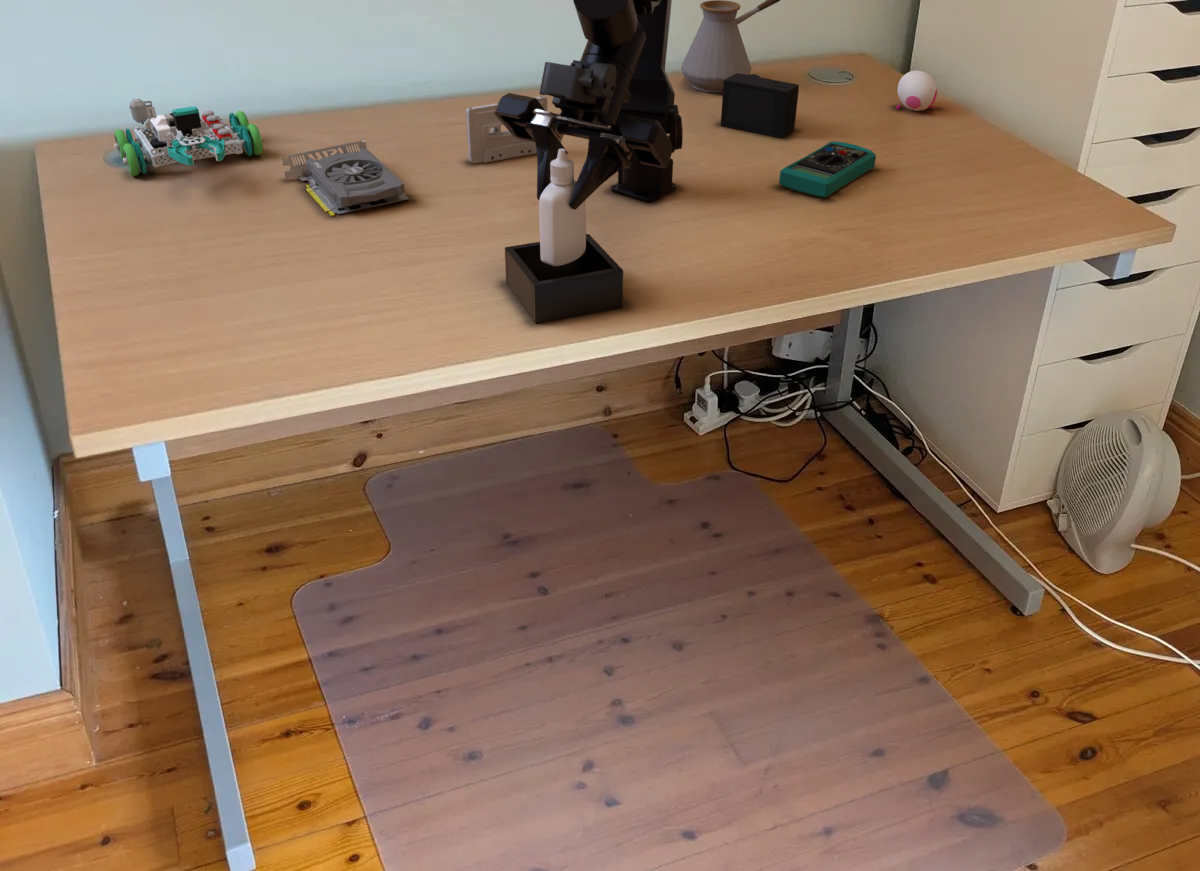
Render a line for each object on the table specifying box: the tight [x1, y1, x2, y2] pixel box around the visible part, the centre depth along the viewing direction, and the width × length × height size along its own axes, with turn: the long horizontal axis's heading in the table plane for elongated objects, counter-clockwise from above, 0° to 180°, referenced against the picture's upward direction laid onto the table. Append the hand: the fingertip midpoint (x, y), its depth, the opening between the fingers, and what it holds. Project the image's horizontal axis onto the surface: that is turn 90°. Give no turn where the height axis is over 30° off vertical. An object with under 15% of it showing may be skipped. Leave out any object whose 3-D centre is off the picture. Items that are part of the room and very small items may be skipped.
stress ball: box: [896, 70, 938, 112], centre depth 178 cm, size 8×8×7 cm
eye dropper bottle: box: [538, 148, 587, 266], centre depth 119 cm, size 4×6×12 cm
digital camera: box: [720, 73, 800, 139], centre depth 169 cm, size 10×5×7 cm, turn 58°
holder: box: [504, 233, 624, 325], centre depth 124 cm, size 10×10×4 cm
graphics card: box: [281, 139, 410, 217], centre depth 148 cm, size 17×4×12 cm
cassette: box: [465, 95, 548, 165], centre depth 158 cm, size 12×2×8 cm, turn 118°
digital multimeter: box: [778, 140, 877, 199], centre depth 154 cm, size 7×15×3 cm, turn 142°
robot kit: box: [113, 98, 264, 177], centre depth 153 cm, size 19×25×9 cm
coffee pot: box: [680, 0, 781, 94], centre depth 185 cm, size 21×12×15 cm, turn 115°
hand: (555, 204), depth 118 cm, fingers closed on eye dropper bottle, 3 cm apart
